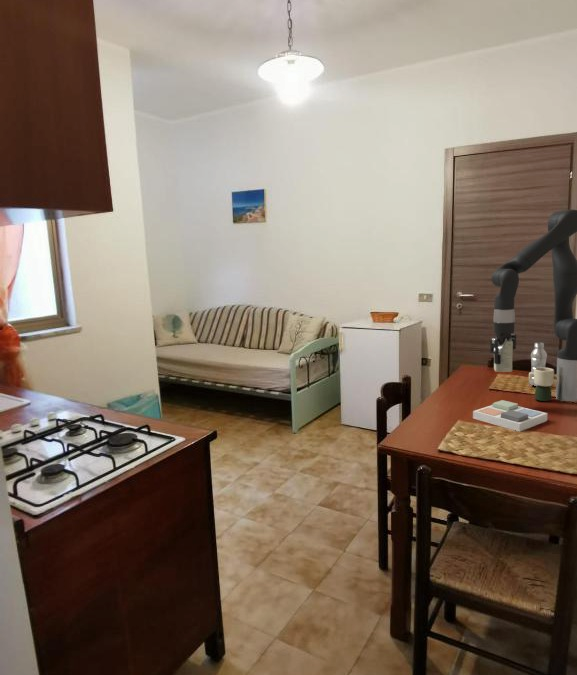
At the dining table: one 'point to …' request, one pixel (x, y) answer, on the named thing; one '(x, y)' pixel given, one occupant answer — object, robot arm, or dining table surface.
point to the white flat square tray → (508, 423)
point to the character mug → (543, 382)
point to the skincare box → (505, 358)
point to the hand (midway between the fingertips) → (503, 362)
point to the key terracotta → (491, 411)
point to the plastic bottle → (537, 359)
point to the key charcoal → (514, 416)
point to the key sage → (505, 405)
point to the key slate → (530, 412)
